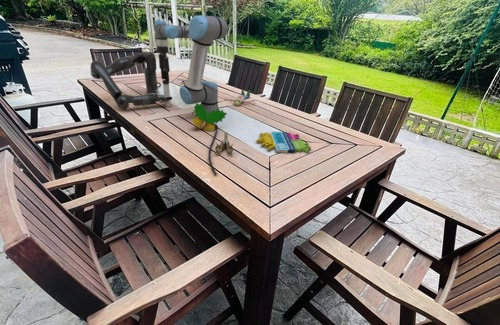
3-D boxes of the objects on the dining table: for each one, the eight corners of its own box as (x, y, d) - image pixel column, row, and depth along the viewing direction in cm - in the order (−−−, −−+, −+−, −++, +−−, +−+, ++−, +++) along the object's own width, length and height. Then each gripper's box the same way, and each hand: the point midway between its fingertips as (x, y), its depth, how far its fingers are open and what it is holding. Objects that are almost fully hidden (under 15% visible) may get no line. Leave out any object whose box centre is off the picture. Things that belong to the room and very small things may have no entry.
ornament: (218, 133, 171) (224, 110, 169) (221, 134, 163) (227, 111, 161) (186, 125, 162) (192, 101, 160) (189, 126, 155) (195, 101, 153)
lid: (169, 82, 194) (169, 80, 193) (168, 84, 190) (168, 81, 189) (163, 82, 193) (162, 79, 192) (162, 84, 189) (161, 81, 188)
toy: (261, 91, 228) (254, 99, 202) (261, 99, 231) (253, 108, 205) (231, 87, 233) (220, 95, 207) (230, 95, 236) (219, 104, 210)
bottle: (171, 104, 201) (169, 80, 192) (170, 106, 198) (168, 81, 189) (165, 104, 201) (163, 80, 192) (164, 106, 197) (162, 81, 188)
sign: (313, 150, 142) (258, 149, 139) (312, 153, 143) (258, 152, 140) (301, 132, 164) (254, 130, 161) (301, 134, 165) (254, 133, 162)
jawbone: (234, 135, 144) (233, 125, 135) (233, 160, 138) (232, 151, 129) (217, 135, 144) (216, 125, 135) (216, 160, 138) (214, 150, 129)
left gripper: (150, 97, 182) (173, 94, 191) (144, 92, 192) (167, 90, 201) (151, 107, 186) (174, 104, 195) (145, 102, 196) (168, 99, 205)
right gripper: (173, 48, 174) (175, 83, 186) (162, 44, 188) (165, 77, 199) (161, 48, 170) (165, 83, 182) (152, 44, 184) (155, 77, 195)
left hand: (170, 97), depth 198 cm, fingers closed on bottle, 4 cm apart
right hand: (165, 80), depth 190 cm, fingers open, 7 cm apart
